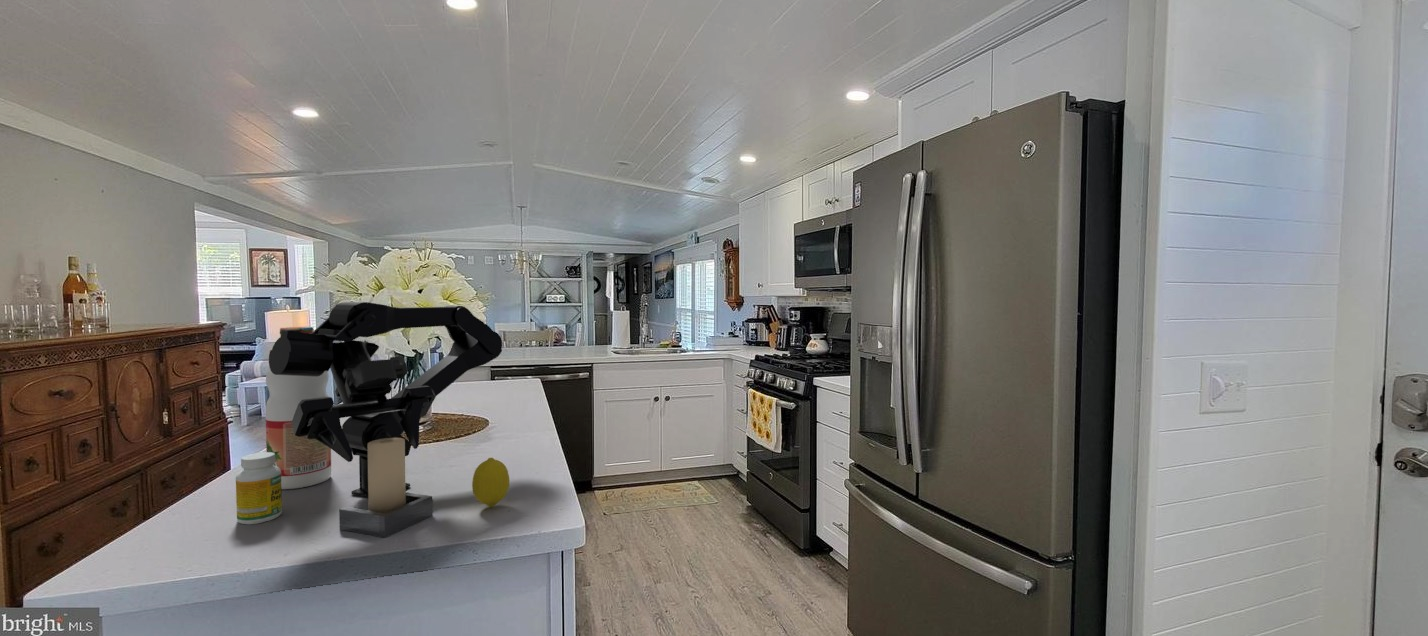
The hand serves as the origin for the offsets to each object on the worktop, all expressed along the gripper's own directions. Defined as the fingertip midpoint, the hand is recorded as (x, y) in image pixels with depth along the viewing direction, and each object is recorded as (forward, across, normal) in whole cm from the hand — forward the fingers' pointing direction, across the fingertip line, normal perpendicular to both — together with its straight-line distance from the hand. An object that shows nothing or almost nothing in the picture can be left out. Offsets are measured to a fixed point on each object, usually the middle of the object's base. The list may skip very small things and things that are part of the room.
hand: (385, 453), depth 85 cm
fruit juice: (-14, -2, +29) cm, 32 cm away
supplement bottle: (-4, -12, +18) cm, 22 cm away
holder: (+8, 0, +6) cm, 10 cm away
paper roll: (+8, 0, +6) cm, 10 cm away
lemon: (+13, +13, +2) cm, 18 cm away
